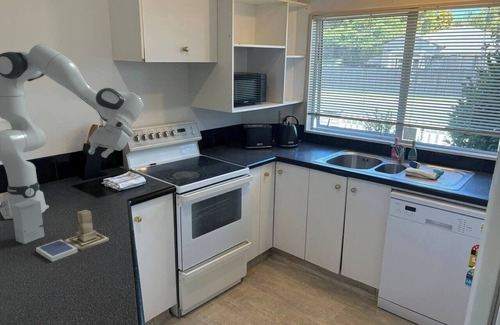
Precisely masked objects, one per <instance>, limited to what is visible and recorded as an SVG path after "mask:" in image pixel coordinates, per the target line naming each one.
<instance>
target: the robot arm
mask: <svg viewBox="0 0 500 325" xmlns="http://www.w3.org/2000/svg"><path fill="white" fill-rule="evenodd" d="M44 76H46V77H48V78H49V79H50V80H52V81H54V82H55V83H57V84H58V85H60V86H62V87H63V88H65V89H66V90H68V91H69V92H71V93H73V94H74V95H75V96H77V97H78V98H79V99H80V100H82V101H83V102H85V104H87V105H88V106H90V107H91V108H93V109H94V110H95V111H96V112H97V113H98V114H99V117H100V118H101V119H102V120H103V121H104V122H105V123H104V125H102V126H99V127H98V128H96V129H95V130H94V131H93V133H92V134H90V135H89V138H88V142H89V143H90V147H89V149H88V150H87V151H88V153H89V155H94V154H95V152H96V148H98V147H101V148H105V150H104V151H102V153H101V154H100V156H101V157H102V158H105V159H107V158H108V156H109V155H110V154H111V153H113V152H114V151H122V150H123V149H124V148H125V147H126V146H127V145H128V143H129V142H130V139H131V138H132V137H134V136H135V135H134V134H135V133H134V132H133V131H132V130H131V127H132V125H133V124H134V122H135V121H137V120H138V118H139V116H140V115H141V113H142V111H143V109H144V107H145V106H144V101H143V99H142V98H141V96H139V95H138V94H137V93H135V92H133V91H132V92H131V91H130V92H123V91H119V90H116V89H114V88H111V87H103V88H101V89H100V90H98V91H96V90H95V89H93V88H92V87H91V86H90V85H89V84H88V83H87V81H86V80H85V79H84V76H83V75H82V73H81V71H80V69H79V67H78V66H77V65H76V64H75V62H74V61H72V60H71V58H70V59H69V57H67V56H66V55H64V54H63V53H62V52H60V51H58V50H56V49H54V48H53V47H50V46H47V45H46V44H42V43H41V44H39V43H38V44H36V45H34V46H32V47H31V48H30V50H29V52H26V51H25V52H24V51H6V52H1V53H0V119H3V120H5V121H7V122H8V124H10V127H11V128H10V129H2V130H0V162H1V163H2V165H3V167H4V169H5V173H6V176H7V182H8V185H7V193H6V196H4V198H3V200H1V201H0V205H1V207H0V214H1V216H2V217H3V218H4V220H10V219H13V214H12V207H11V205H12V204H16V203H19V202H23V201H27V200H37V201H40V203H41V211H42V214H43V213H44V212H45V211H46V210H47V209H49V208H50V206H49V205H48V204H46V200H45V196H44V192H43V191H42V190H40V184H39V180H38V178H37V171H36V170H37V168H36V166H35V164H34V163H33V162H31V161H28V160H25V158H24V156H23V154H24V153H27V152H32V151H36V150H38V149H40V148H42V147H44V146H45V145H46V144H47V143H46V142H47V135H46V133H45V131H44V130H43V129H42V128H41V127H39V126H38V125H36V124H35V123H34V121H33V120H32V118H31V116H30V114H29V112H28V106H27V103H26V102H27V101H26V98H25V97H26V95H25V92H24V91H25V90H24V84H25V82H31V81H34V80H39V79H40V78H42V77H44ZM106 148H107V149H106Z"/></svg>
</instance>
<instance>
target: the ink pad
mask: <svg viewBox="0 0 500 325" xmlns="http://www.w3.org/2000/svg"><path fill="white" fill-rule="evenodd" d="M35 251H36V253H38V254H40V255H41V256H42V257H44V258H45V259H47V260H48V261H51V262H55V261H58V260H61V259H63V258H66V257H68V256H71V255H73V254H77V253H78V252H79V249H78V248H76V247H74V246H72V245H71V244H69V243H67V242H65V240H63V239H62V238H61V239H58V240H55V241H52V242H49V243H46V244H43V245H41V246H40V245H39V246H36V247H35Z"/></svg>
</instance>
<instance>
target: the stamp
mask: <svg viewBox="0 0 500 325" xmlns="http://www.w3.org/2000/svg"><path fill="white" fill-rule="evenodd" d="M76 213H77V214H76V215H77V220H78V221H77V222H78V231H76V236H77V239H78V240H80V241H82V242H83V243H86V242H88V241H91V240H94V239H96V238H97V236H96V232H97V231H96V230H95V229H93V227H94V225H93V217H92V216H93V215H92V211H90V210H88V209H84V210H81V211H77V212H76Z"/></svg>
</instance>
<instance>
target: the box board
mask: <svg viewBox="0 0 500 325" xmlns="http://www.w3.org/2000/svg"><path fill="white" fill-rule="evenodd" d="M96 236H97V238H96V239H94V240H91V241H88V242H86V243H83V242H82V241H80V240H78V239H77V235H75V236H72V237H69V238H66V239H65V240H64V241H65V242H67V243H69V244H70V245H72V246H74V247H76V248H77V250H80V251H85V250H88V249H89V248H92V247H95V246H97V245H101V244H103V243H106V242H108V241H109V240H110V238H109V237H107V236H104V235H103V234H100V233H99V232H97V231H96Z"/></svg>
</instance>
